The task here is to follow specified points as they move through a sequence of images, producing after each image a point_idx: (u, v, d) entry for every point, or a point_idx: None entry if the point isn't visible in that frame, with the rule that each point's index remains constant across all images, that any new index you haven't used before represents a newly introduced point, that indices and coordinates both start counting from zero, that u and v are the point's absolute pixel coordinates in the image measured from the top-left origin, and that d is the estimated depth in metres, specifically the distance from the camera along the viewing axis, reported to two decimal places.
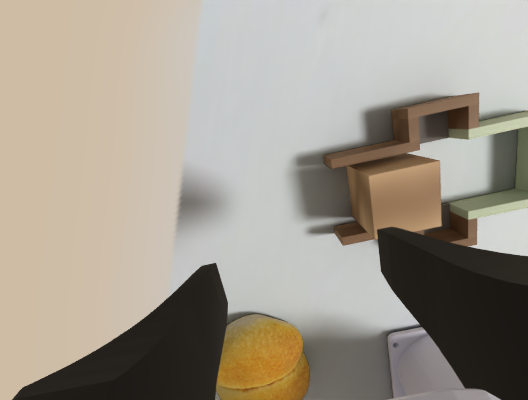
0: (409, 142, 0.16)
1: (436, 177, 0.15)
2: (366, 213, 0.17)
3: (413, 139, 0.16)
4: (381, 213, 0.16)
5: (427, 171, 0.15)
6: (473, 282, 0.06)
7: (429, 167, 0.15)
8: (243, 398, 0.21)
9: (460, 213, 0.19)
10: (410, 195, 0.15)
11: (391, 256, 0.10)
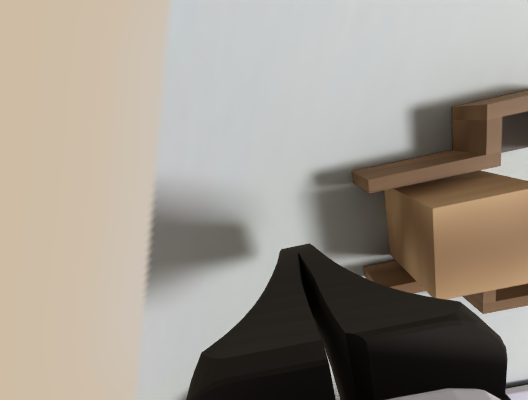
0: (485, 154, 0.11)
1: None
2: (421, 260, 0.11)
3: (492, 150, 0.11)
4: (448, 263, 0.10)
5: (524, 201, 0.10)
6: (327, 311, 0.06)
7: None
8: None
9: None
10: (495, 237, 0.10)
11: (303, 274, 0.10)
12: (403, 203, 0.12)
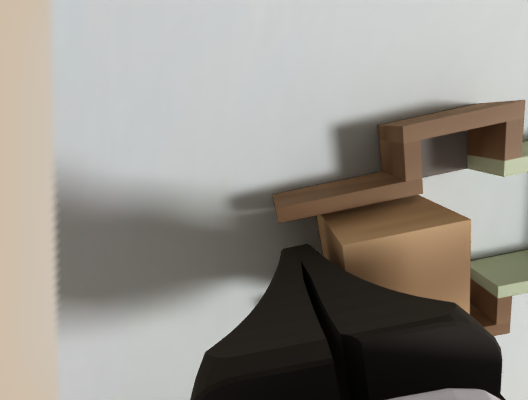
0: (405, 181, 0.10)
1: (463, 247, 0.08)
2: None
3: (412, 176, 0.10)
4: None
5: (447, 237, 0.08)
6: (324, 312, 0.06)
7: (452, 230, 0.08)
8: None
9: (484, 284, 0.12)
10: (417, 276, 0.09)
11: None
12: (327, 232, 0.10)
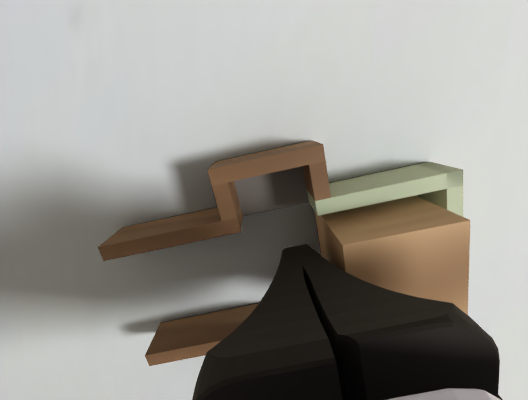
0: (221, 220, 0.10)
1: (462, 248, 0.09)
2: None
3: (227, 216, 0.10)
4: None
5: (447, 238, 0.08)
6: (322, 312, 0.06)
7: (451, 231, 0.08)
8: None
9: None
10: (416, 277, 0.09)
11: None
12: (326, 232, 0.10)
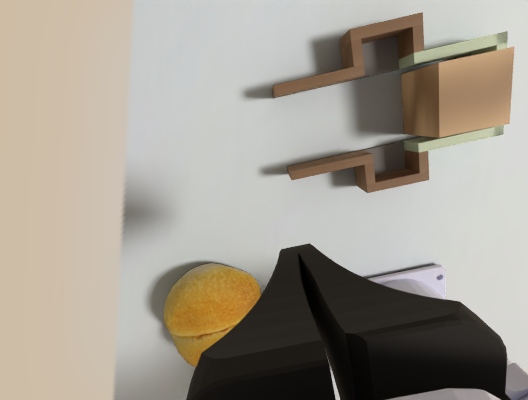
0: (353, 67, 0.16)
1: (509, 66, 0.15)
2: (429, 113, 0.16)
3: (357, 63, 0.16)
4: (448, 107, 0.15)
5: (500, 58, 0.14)
6: (327, 311, 0.06)
7: (503, 53, 0.14)
8: (197, 345, 0.20)
9: (412, 148, 0.18)
10: (480, 86, 0.15)
11: (303, 274, 0.10)
12: (416, 77, 0.17)
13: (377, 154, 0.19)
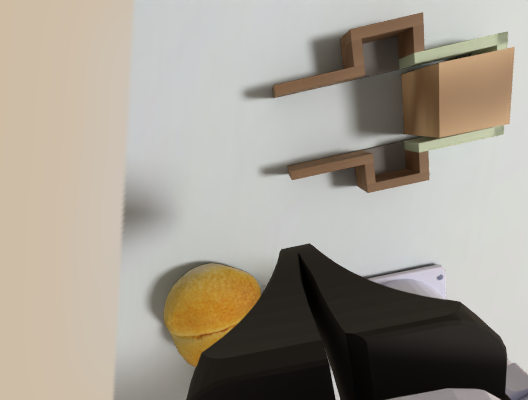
0: (354, 66, 0.16)
1: (509, 66, 0.15)
2: (429, 114, 0.16)
3: (358, 63, 0.16)
4: (448, 106, 0.15)
5: (500, 59, 0.14)
6: (327, 311, 0.06)
7: (503, 54, 0.14)
8: (197, 345, 0.20)
9: (412, 148, 0.18)
10: (480, 86, 0.15)
11: (303, 274, 0.10)
12: (417, 77, 0.17)
13: (377, 154, 0.19)
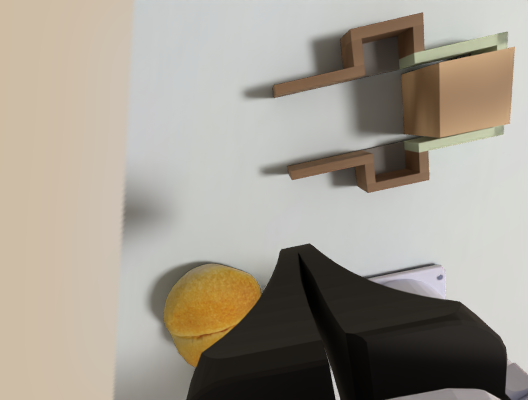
0: (354, 66, 0.16)
1: (509, 66, 0.15)
2: (429, 113, 0.16)
3: (358, 63, 0.16)
4: (448, 107, 0.15)
5: (500, 59, 0.14)
6: (327, 311, 0.06)
7: (503, 54, 0.14)
8: (197, 345, 0.20)
9: (412, 148, 0.18)
10: (481, 86, 0.15)
11: (303, 274, 0.10)
12: (417, 77, 0.17)
13: (377, 154, 0.19)
